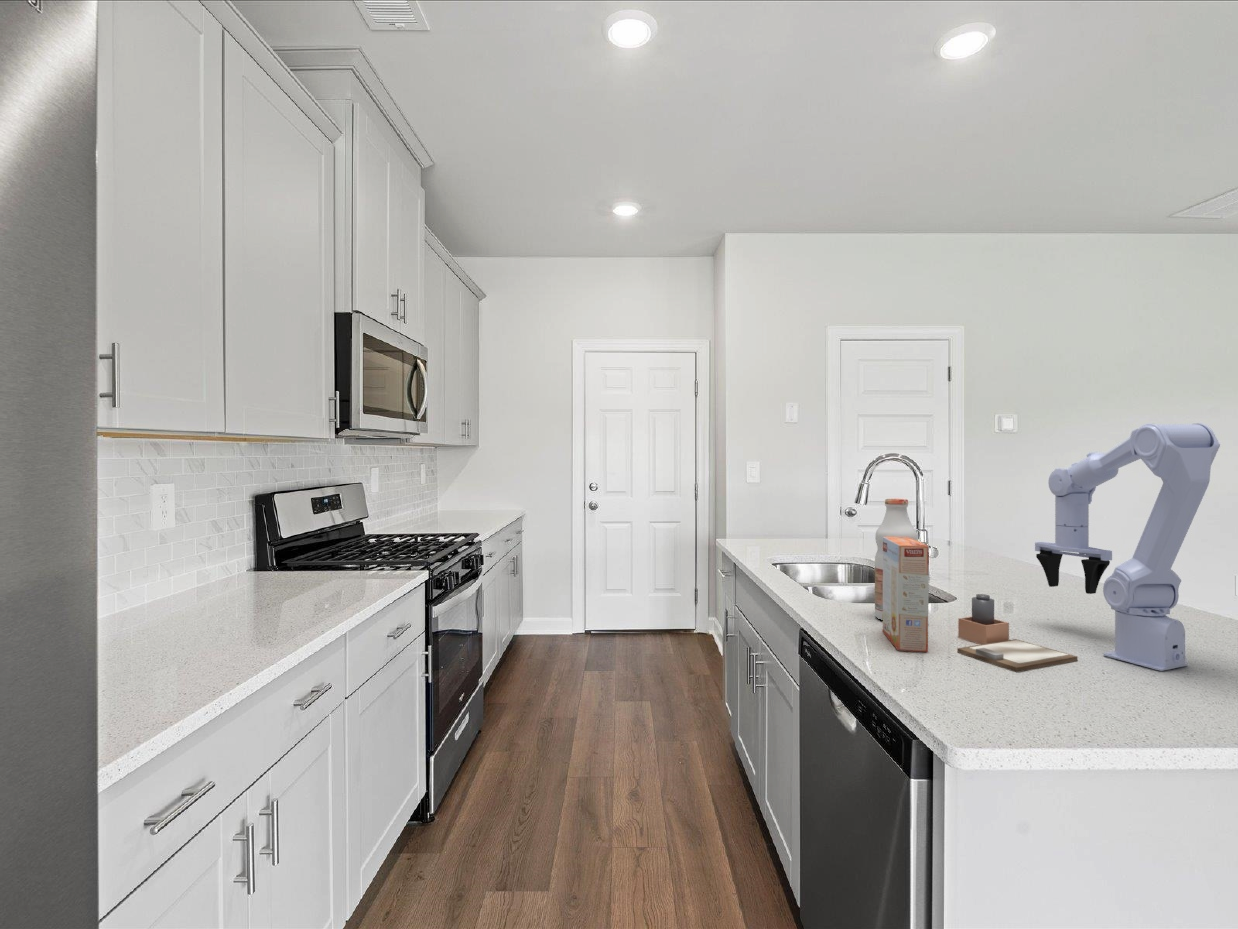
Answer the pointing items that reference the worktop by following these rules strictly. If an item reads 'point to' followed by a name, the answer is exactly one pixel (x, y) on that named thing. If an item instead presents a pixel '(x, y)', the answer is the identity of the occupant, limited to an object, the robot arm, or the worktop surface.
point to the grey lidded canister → (983, 609)
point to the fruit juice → (891, 526)
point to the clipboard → (1017, 655)
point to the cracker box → (906, 593)
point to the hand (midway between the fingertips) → (1071, 589)
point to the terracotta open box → (982, 631)
